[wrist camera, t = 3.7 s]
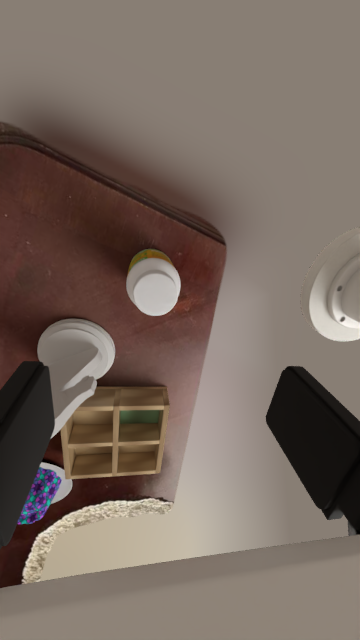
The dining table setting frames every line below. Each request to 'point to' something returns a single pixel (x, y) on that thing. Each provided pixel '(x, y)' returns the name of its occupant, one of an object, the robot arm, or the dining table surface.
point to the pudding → (44, 492)
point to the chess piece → (74, 363)
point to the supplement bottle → (153, 282)
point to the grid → (116, 433)
